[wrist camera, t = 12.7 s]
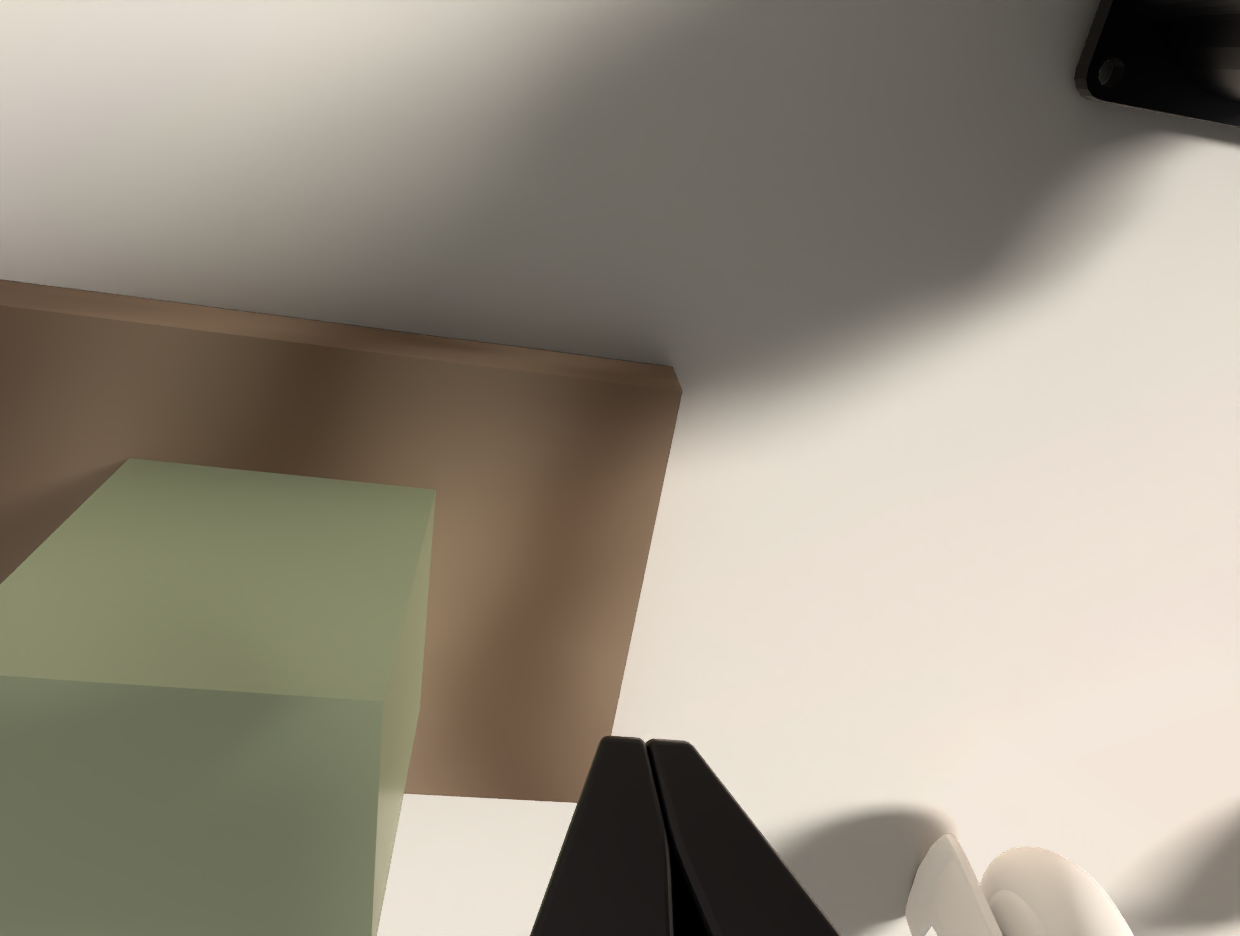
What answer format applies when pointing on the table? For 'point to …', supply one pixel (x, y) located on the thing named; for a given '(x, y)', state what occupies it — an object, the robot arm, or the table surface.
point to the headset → (1008, 896)
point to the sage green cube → (211, 705)
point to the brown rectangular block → (383, 454)
